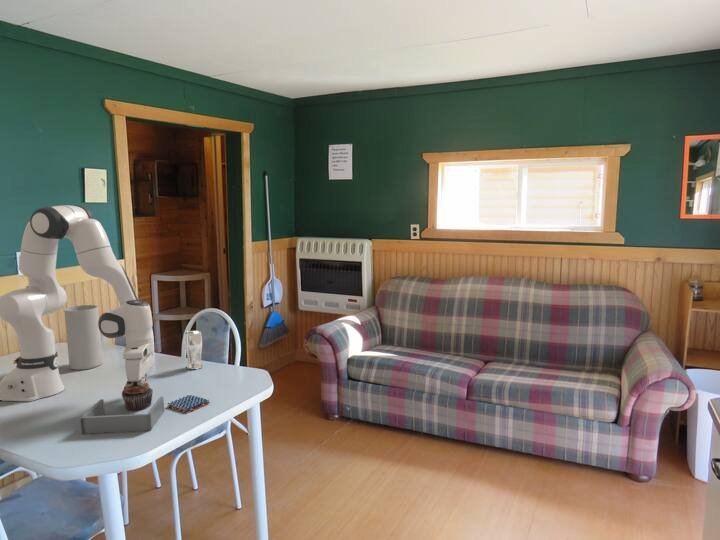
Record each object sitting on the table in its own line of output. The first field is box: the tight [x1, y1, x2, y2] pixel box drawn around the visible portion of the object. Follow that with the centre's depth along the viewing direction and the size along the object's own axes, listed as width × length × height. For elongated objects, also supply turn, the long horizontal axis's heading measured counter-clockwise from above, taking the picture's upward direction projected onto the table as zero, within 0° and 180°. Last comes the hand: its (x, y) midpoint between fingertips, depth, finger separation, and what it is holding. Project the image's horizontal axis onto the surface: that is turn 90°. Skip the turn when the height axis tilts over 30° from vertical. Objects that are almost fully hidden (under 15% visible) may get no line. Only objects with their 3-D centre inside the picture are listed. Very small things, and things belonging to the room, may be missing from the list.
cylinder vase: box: [64, 304, 103, 371], centre depth 224 cm, size 12×12×25 cm
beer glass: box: [183, 330, 203, 370], centre depth 220 cm, size 7×7×15 cm
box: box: [80, 396, 165, 435], centre depth 167 cm, size 20×15×5 cm
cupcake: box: [121, 378, 154, 412], centre depth 180 cm, size 10×10×10 cm
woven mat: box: [166, 394, 211, 414], centre depth 180 cm, size 10×11×2 cm
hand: (143, 385), depth 185 cm, fingers closed
